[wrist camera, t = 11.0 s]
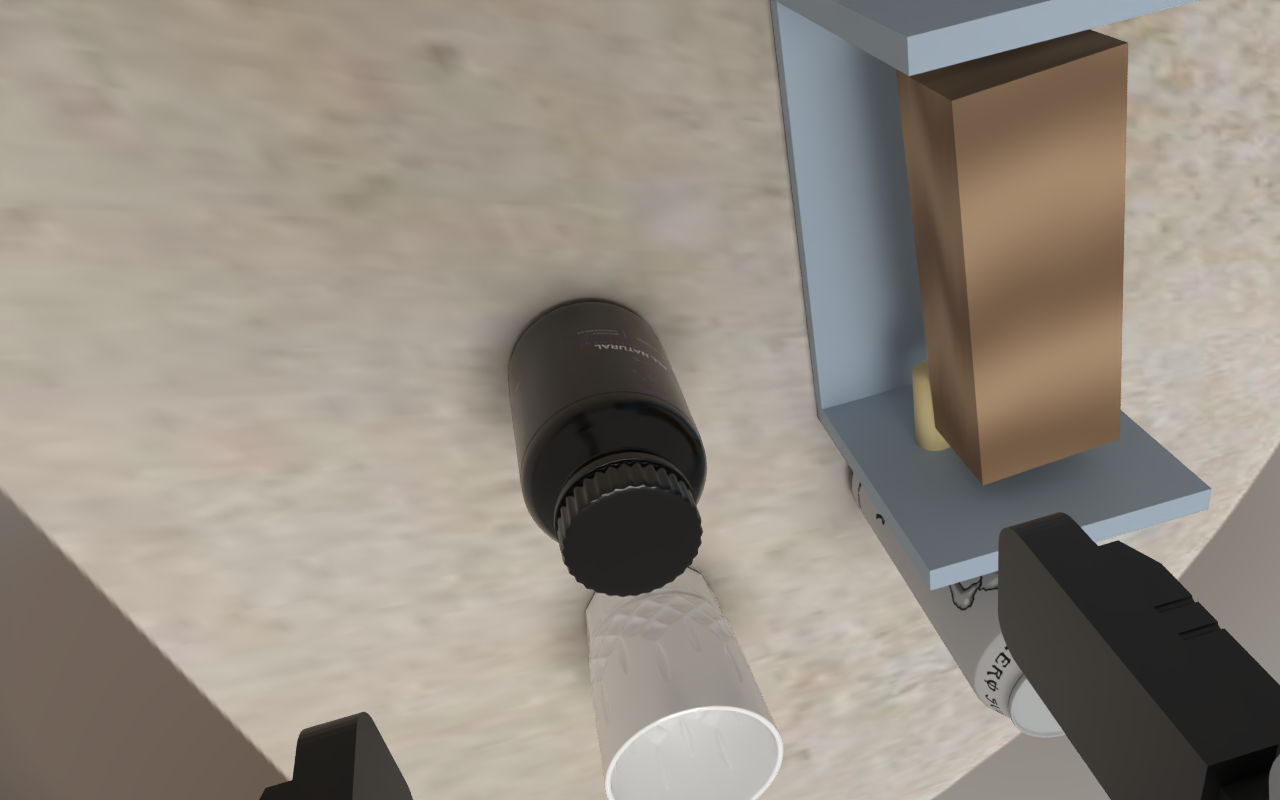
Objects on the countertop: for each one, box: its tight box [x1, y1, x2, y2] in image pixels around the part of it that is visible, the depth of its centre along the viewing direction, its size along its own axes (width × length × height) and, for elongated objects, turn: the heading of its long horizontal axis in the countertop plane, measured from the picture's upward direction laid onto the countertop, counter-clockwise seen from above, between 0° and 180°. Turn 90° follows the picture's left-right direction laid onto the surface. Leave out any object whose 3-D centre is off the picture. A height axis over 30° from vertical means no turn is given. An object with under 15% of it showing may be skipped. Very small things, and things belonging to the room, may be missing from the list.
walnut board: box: [896, 29, 1128, 485], centre depth 34 cm, size 15×6×4 cm, turn 15°
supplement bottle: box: [508, 302, 707, 597], centre depth 37 cm, size 7×7×12 cm
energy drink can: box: [852, 474, 1066, 737], centre depth 42 cm, size 6×6×15 cm
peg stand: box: [770, 0, 1211, 591], centre depth 36 cm, size 20×11×12 cm, turn 11°
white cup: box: [586, 567, 783, 800], centre depth 46 cm, size 8×8×10 cm
